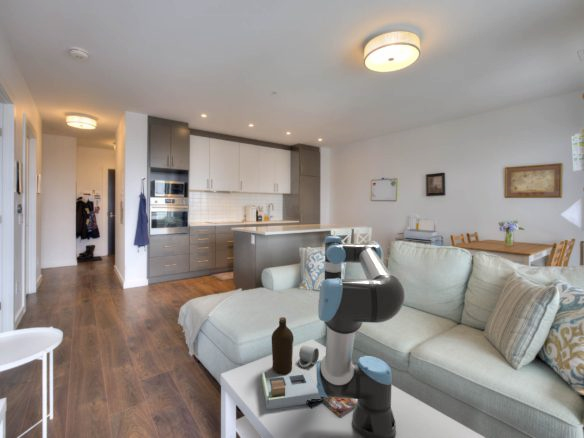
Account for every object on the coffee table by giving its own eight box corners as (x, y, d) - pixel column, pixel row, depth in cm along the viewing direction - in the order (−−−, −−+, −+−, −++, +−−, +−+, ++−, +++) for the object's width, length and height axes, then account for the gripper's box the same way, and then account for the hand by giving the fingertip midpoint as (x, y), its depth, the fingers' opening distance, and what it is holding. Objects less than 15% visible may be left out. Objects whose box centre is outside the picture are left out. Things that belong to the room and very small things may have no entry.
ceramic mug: (305, 355, 149) (305, 341, 149) (319, 360, 145) (319, 345, 145) (294, 365, 140) (294, 350, 140) (309, 370, 136) (309, 355, 136)
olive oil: (274, 377, 131) (274, 324, 129) (269, 364, 141) (269, 315, 139) (296, 372, 134) (296, 321, 133) (289, 361, 144) (289, 313, 143)
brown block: (285, 397, 114) (285, 387, 113) (272, 398, 112) (272, 389, 112) (282, 389, 118) (282, 379, 118) (271, 390, 117) (271, 381, 117)
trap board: (320, 401, 115) (320, 388, 114) (266, 409, 110) (266, 396, 110) (309, 377, 130) (309, 366, 130) (262, 383, 126) (262, 372, 125)
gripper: (343, 267, 133) (342, 316, 135) (316, 269, 131) (316, 319, 132) (349, 271, 126) (348, 323, 127) (321, 273, 123) (321, 325, 125)
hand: (332, 321), depth 130 cm, fingers closed
